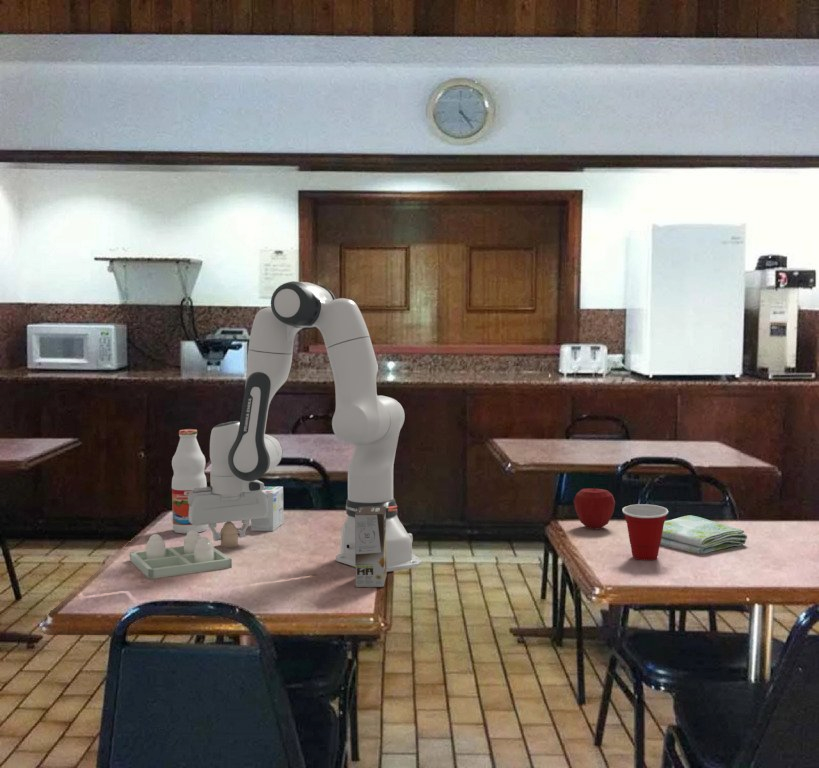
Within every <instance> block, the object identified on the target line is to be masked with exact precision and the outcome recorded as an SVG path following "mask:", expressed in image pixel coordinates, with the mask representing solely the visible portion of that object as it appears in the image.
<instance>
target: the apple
mask: <svg viewBox="0 0 819 768" xmlns="http://www.w3.org/2000/svg"><path fill="white" fill-rule="evenodd" d="M595 487H596V486H595V485H594V486H593V488H582V489H580V490H579V491H578V492H577V493H576V494H575V496H574V499H573V505H574V509H575V512H576V515H577V517H578V519H579V521H580V523H581V525H583V526H585V527H586V528H587V529H590V530H600V529H602V528H603V527H606V525H608V524H609V523H610V520H611V518H612V517H613V515H614V514H613V513H614V512H615V505H616V501H615V497H614V495H613V494H612V492H610V491H609V490H607V489H602V488H595Z"/></svg>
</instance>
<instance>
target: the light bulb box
mask: <svg viewBox="0 0 819 768" xmlns="http://www.w3.org/2000/svg"><path fill="white" fill-rule="evenodd" d="M262 491H263V492H264V493H265V494H266V496H267V502H268V515H267V516H266V517H265V518H258V519H250V531H251V532H252V531H253V532H274V531H275V530H276V529H278V528H279V527H280V526H282V525H283V524H284V486H280V485H279V486H268V485H267V486H265V485H264V489H263V490H262Z"/></svg>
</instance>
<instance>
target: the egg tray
mask: <svg viewBox="0 0 819 768" xmlns="http://www.w3.org/2000/svg"><path fill="white" fill-rule="evenodd" d="M213 549H214V561H207V562H199V563H195V559H194V554H186V555H184V545H180V546H179V545H178V546H172V547H171V546H170V547H165V554H166V557H163V558H155V559H147V560H146V550H139V551H130V552H129V561H130V562H131V564H133V565H134V566H135V567H136V568H137V569H138V570H139V571H141V572H142V574H143V575H144V576H145V577H146V578H148V579H149V580H150V579H151V580H154V579H159V578H166V577H174V576H179V575H180V576H181V575H189V574H196V573H203V572H210V571H211V572H212V571H216V570H224V569H231V568H233V567H232V566H233V565H232V559H231V558H230V557H229V556H228V555H226V554H224V553H223V552H222V551H220V550H219V549H217V548H216V547H214V546H213Z"/></svg>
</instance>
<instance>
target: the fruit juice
mask: <svg viewBox="0 0 819 768" xmlns="http://www.w3.org/2000/svg"><path fill="white" fill-rule="evenodd" d="M197 435H198V430H197V429H193V428H186V429H180V430H179V431H178V436H179V441H178V444H177V447H176V451H175V452H174V455H173V456H172V460H171V466H172V471H173V476H172V478H171V498H172V499H171V501H172V502H171V503H172V504H171V505H172V506H171V507H172V511H171V512H172V529H173V530H172V531H173V532H174V533H177V534H184V535H187V533H188V532H189V531H190V530H196V531H197V532H198V533H202V532H205V531H207V530H208V527H209V524H206V525H197V526H195V525H193V524H191V523H190V522H189V519H188V516H189V503H188V494H189V493H190V491H192V490H193V489H194V488H204V487H208V485H207V482H208V481H207V476H206V474H205V469H206V464H207V463H206V457H205V454H203V451H202V450H201V446H200V445H199V442H198V439H197ZM192 493H195V492H192Z"/></svg>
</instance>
